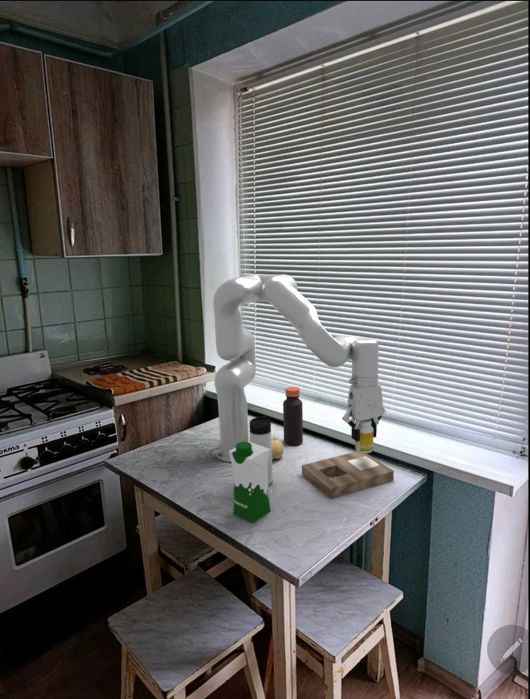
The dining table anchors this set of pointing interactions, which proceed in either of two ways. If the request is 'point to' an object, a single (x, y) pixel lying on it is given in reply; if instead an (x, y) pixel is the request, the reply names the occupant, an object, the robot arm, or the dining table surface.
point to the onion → (276, 448)
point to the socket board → (347, 473)
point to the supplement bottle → (365, 437)
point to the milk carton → (250, 480)
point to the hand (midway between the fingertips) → (364, 437)
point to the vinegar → (293, 417)
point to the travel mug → (262, 438)
